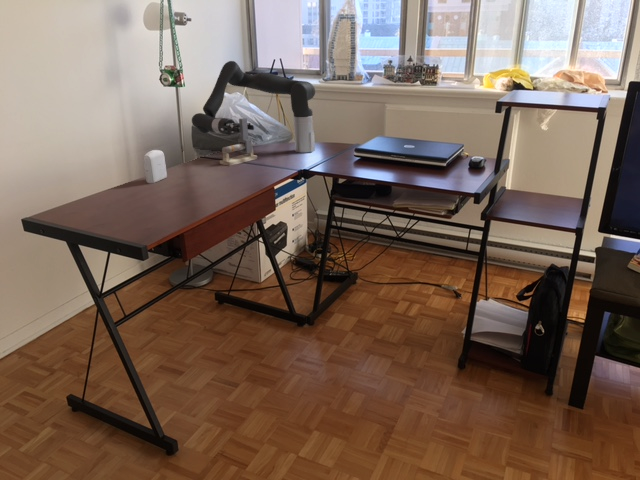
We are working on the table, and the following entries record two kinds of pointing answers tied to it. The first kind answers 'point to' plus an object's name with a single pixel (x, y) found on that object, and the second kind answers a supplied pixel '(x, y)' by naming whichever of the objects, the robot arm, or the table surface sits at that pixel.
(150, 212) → the table surface
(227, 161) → the pipe stand
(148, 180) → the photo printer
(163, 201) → the table surface
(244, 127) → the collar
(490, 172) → the table surface
